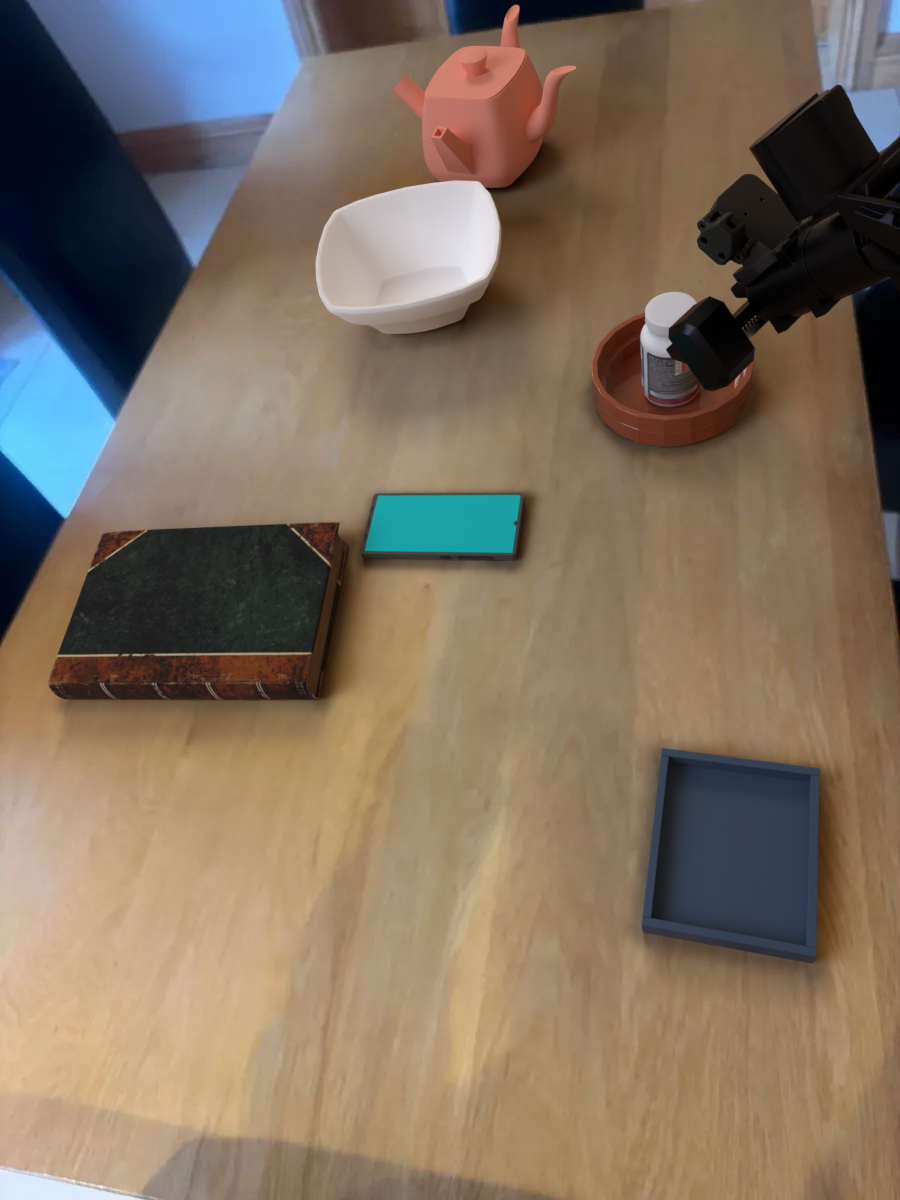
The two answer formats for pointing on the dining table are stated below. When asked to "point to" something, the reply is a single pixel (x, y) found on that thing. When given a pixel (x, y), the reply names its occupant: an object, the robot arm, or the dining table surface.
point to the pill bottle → (665, 353)
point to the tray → (735, 854)
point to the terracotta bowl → (644, 419)
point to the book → (204, 614)
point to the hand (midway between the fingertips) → (702, 322)
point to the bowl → (409, 256)
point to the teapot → (485, 111)
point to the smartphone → (444, 526)
